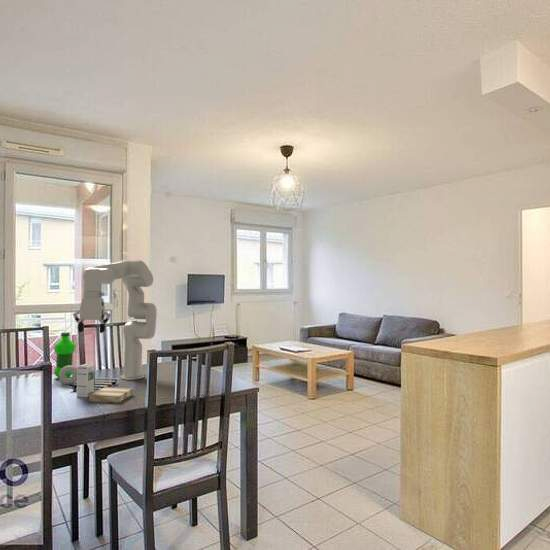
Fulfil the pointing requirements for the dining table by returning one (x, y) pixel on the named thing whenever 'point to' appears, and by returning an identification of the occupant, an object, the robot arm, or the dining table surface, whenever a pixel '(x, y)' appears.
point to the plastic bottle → (64, 353)
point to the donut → (64, 378)
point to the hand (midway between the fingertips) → (91, 332)
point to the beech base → (110, 394)
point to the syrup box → (85, 380)
